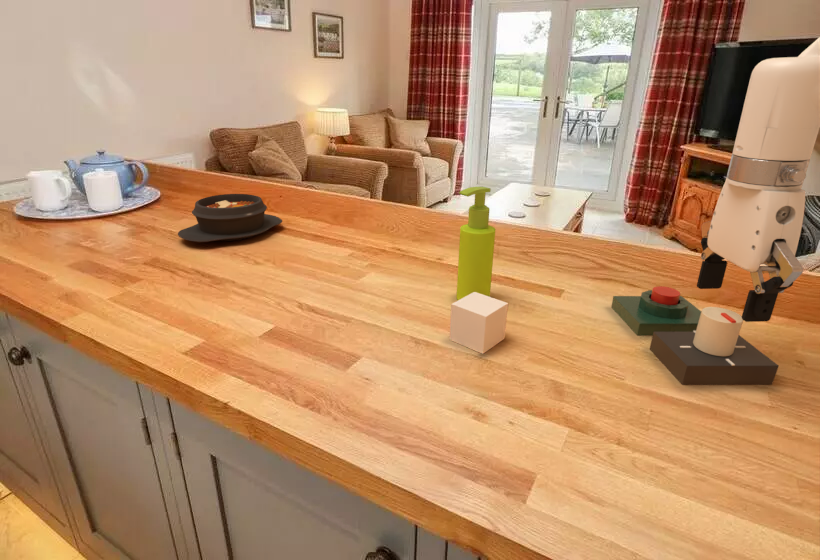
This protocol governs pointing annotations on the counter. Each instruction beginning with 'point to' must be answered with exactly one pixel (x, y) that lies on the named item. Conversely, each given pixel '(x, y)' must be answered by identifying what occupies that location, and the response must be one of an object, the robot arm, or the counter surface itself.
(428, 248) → the counter surface
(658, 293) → the press top
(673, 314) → the button base
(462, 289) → the soap dispenser
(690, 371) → the dial panel
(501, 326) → the pale pink cube
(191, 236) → the casserole
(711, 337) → the lock knob
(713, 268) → the robot arm
